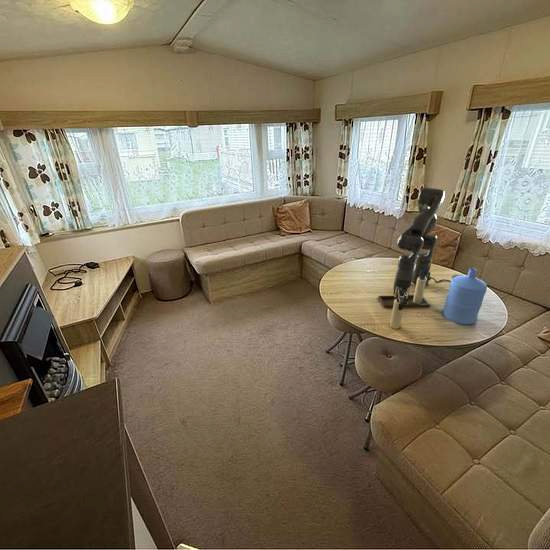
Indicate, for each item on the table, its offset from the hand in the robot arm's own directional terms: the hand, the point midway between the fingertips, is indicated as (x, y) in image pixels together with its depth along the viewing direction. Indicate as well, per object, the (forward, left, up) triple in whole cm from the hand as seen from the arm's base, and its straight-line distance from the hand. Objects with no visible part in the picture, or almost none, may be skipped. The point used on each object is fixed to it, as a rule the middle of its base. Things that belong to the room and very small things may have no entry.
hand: (398, 306), depth 148 cm
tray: (-13, -22, -12) cm, 28 cm away
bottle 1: (-13, -22, -11) cm, 28 cm away
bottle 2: (-21, -22, -11) cm, 32 cm away
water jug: (-37, -7, -12) cm, 40 cm away
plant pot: (-49, -29, -12) cm, 58 cm away
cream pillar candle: (0, 0, -12) cm, 12 cm away
